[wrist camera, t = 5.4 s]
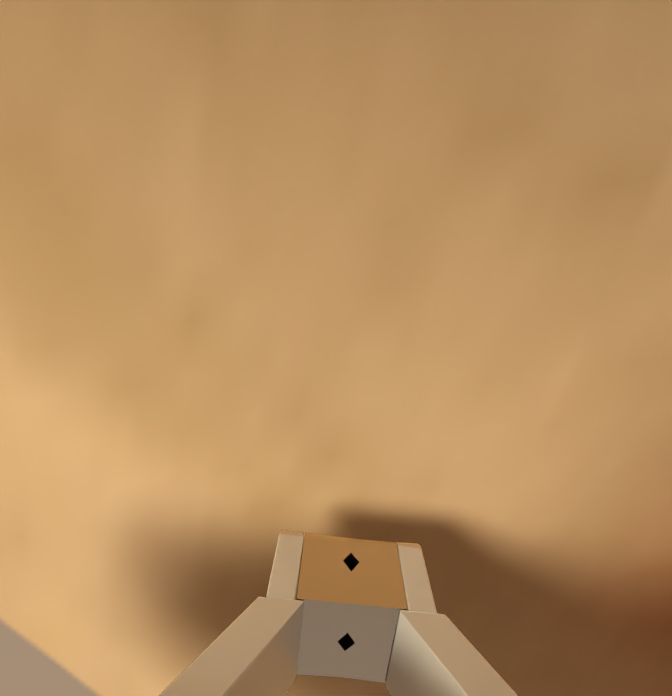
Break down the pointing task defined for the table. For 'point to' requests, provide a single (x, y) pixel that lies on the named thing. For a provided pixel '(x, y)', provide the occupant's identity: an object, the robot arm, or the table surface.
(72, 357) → the table surface
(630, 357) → the table surface
